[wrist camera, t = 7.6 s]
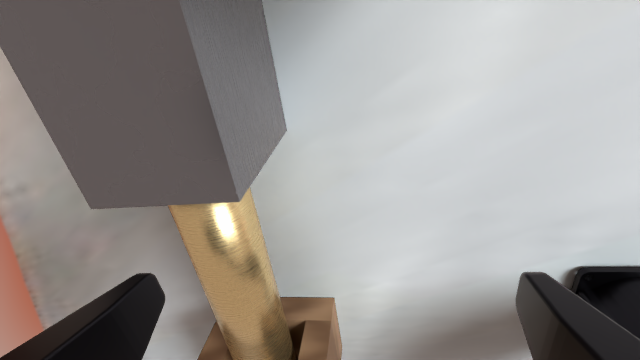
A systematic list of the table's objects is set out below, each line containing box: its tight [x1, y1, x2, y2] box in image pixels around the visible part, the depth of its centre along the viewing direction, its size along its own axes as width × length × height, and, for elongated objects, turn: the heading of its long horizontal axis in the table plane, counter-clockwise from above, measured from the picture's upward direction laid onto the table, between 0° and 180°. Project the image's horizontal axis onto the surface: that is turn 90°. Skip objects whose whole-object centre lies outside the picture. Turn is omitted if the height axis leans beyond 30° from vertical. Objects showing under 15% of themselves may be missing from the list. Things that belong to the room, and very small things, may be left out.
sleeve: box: [0, 0, 287, 209], centre depth 14 cm, size 7×11×8 cm, turn 8°
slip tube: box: [168, 187, 298, 360], centre depth 19 cm, size 4×20×4 cm, turn 8°
